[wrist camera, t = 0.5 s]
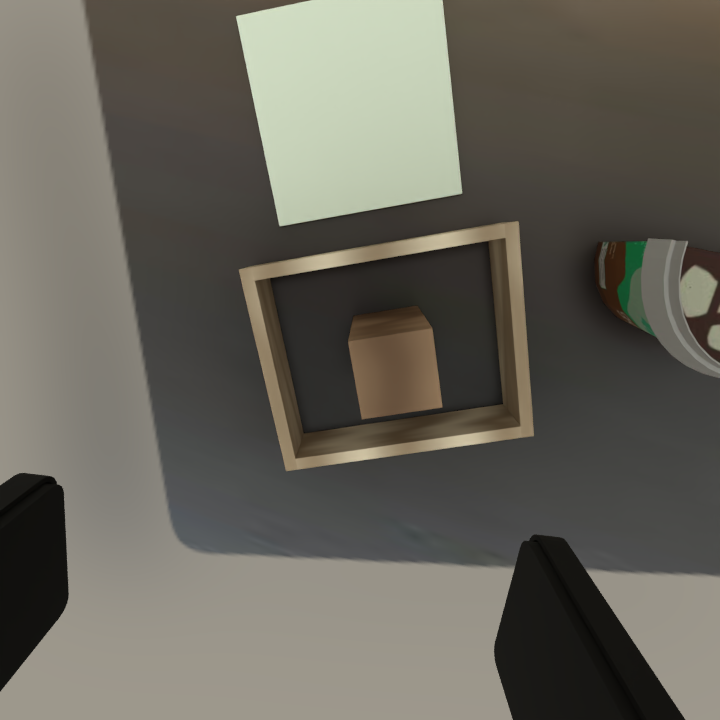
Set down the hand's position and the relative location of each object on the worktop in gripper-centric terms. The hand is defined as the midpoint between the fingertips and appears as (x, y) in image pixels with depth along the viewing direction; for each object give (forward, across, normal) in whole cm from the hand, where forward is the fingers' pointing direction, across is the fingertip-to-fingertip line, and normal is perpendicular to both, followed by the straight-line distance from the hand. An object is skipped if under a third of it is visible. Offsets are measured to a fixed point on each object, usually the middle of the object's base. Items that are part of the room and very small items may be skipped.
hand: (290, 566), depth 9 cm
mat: (+24, +1, -14) cm, 27 cm away
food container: (+24, -21, -5) cm, 32 cm away
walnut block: (+24, -3, 0) cm, 24 cm away
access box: (+24, -3, 0) cm, 24 cm away
